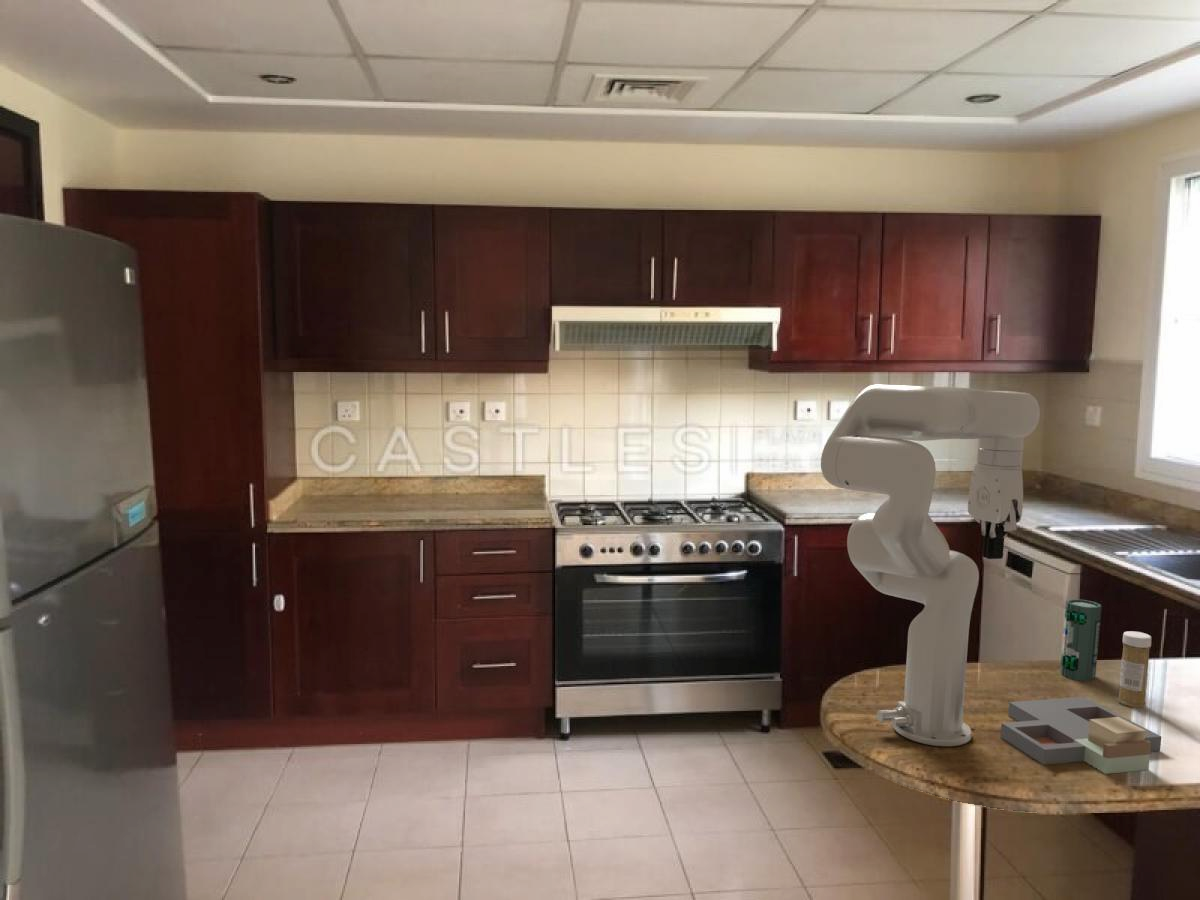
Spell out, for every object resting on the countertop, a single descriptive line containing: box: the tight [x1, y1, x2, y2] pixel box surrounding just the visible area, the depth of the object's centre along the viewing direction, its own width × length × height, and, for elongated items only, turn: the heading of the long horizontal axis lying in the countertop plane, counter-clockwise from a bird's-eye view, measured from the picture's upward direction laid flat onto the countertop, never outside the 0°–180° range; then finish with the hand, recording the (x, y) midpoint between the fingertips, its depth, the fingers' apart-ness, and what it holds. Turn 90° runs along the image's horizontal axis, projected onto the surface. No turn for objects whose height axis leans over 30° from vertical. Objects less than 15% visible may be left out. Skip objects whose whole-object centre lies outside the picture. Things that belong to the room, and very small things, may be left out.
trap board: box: [1000, 696, 1162, 775], centre depth 155 cm, size 23×23×4 cm
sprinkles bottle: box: [1117, 630, 1152, 709], centre depth 171 cm, size 5×5×14 cm
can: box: [1059, 598, 1102, 682], centre depth 186 cm, size 6×6×15 cm
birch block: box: [1088, 717, 1146, 748], centre depth 147 cm, size 6×6×4 cm
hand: (992, 557), depth 170 cm, fingers closed
